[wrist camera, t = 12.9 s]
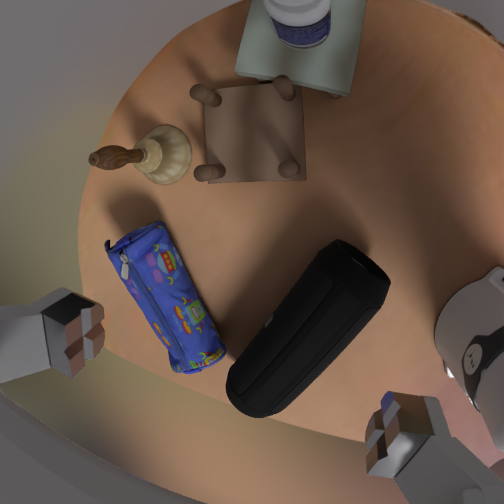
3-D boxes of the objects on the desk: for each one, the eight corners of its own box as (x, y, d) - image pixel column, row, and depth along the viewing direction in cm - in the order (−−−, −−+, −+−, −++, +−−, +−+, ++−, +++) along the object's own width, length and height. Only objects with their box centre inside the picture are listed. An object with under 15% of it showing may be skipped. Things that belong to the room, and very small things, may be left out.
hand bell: (189, 120, 40) (121, 106, 25) (195, 181, 42) (130, 195, 27) (136, 131, 42) (59, 127, 27) (142, 188, 44) (67, 205, 29)
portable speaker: (329, 227, 41) (330, 248, 31) (388, 269, 40) (405, 301, 31) (230, 359, 49) (211, 400, 40) (282, 391, 49) (272, 434, 40)
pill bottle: (341, 35, 26) (346, -8, 17) (295, 61, 28) (283, 24, 19) (309, -2, 26) (301, -52, 16) (264, 22, 28) (241, -22, 18)
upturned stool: (301, 85, 36) (296, 68, 29) (306, 179, 39) (302, 184, 32) (208, 93, 39) (184, 81, 31) (213, 182, 42) (189, 188, 34)
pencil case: (126, 232, 47) (87, 249, 38) (169, 208, 44) (133, 221, 36) (191, 354, 51) (167, 389, 42) (237, 341, 48) (218, 379, 39)
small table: (360, 24, 32) (367, -3, 24) (344, 105, 36) (350, 93, 28) (269, 8, 34) (257, -20, 26) (250, 86, 37) (233, 71, 30)
